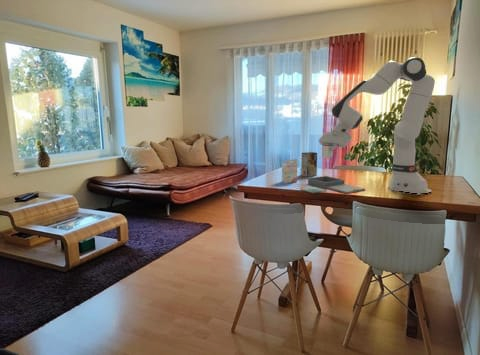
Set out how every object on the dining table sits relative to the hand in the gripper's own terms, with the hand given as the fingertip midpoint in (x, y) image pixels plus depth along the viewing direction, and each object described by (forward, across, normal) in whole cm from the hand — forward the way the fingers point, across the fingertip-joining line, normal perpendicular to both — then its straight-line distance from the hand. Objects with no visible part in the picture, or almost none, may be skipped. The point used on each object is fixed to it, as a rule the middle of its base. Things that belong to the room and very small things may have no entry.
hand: (326, 150), depth 202 cm
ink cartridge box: (+24, -19, +6) cm, 31 cm away
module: (+3, 0, +4) cm, 4 cm away
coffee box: (+6, -29, +25) cm, 39 cm away
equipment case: (+15, +8, +15) cm, 23 cm away
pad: (+27, +7, +3) cm, 28 cm away
